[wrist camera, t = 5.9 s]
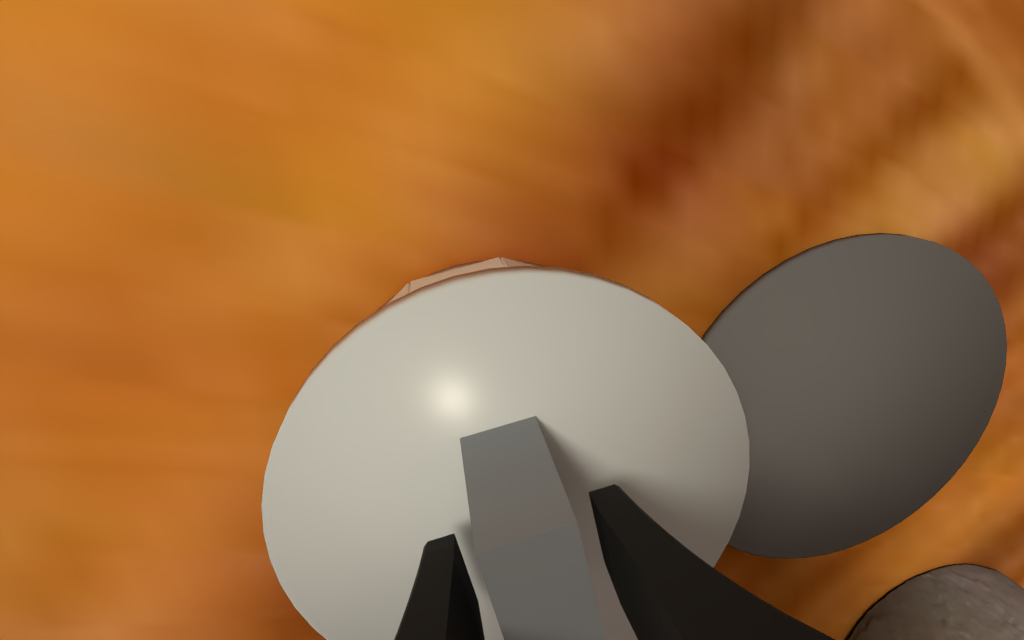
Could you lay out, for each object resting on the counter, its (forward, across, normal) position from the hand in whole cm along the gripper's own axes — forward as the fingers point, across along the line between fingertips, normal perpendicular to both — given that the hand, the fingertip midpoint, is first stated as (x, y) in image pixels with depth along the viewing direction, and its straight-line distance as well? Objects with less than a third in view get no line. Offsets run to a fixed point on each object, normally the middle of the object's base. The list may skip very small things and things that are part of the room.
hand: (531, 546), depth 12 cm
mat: (+6, -12, +4) cm, 14 cm away
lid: (+2, 0, 0) cm, 2 cm away
